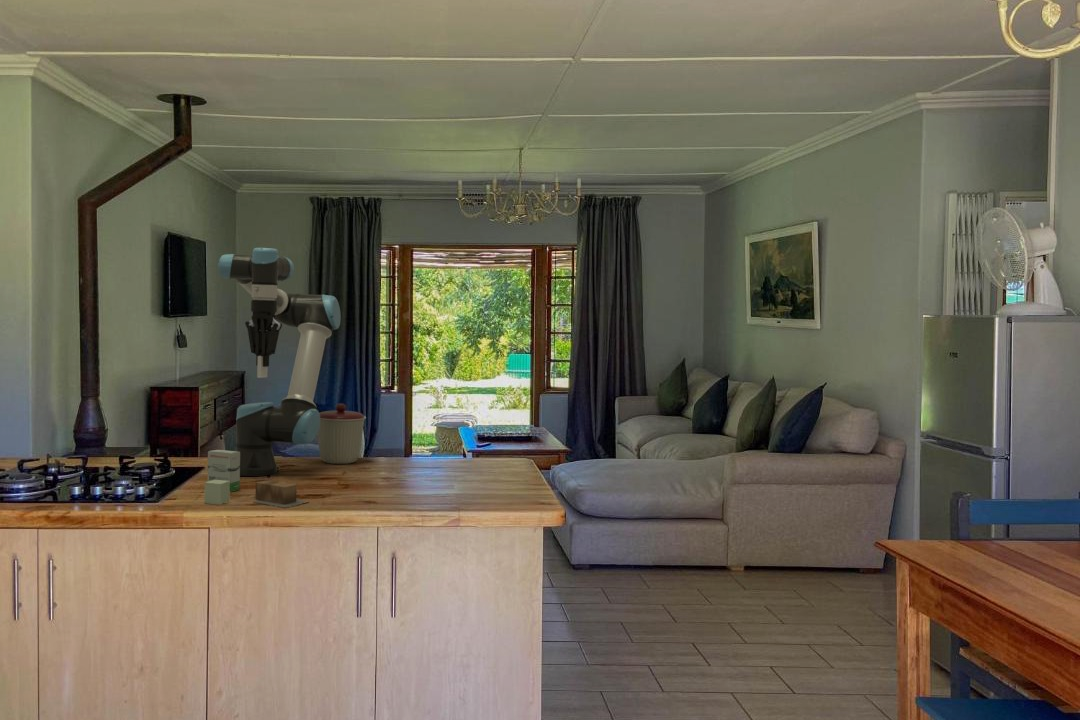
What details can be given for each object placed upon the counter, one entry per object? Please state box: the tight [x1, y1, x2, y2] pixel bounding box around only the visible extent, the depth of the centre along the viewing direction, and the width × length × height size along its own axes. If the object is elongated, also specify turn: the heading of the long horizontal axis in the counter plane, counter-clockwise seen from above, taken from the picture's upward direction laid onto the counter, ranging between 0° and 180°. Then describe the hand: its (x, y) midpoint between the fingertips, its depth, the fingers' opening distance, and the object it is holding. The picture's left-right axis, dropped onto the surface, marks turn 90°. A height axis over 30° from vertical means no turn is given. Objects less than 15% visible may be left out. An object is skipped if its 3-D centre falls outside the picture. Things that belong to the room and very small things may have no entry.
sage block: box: [203, 480, 231, 506], centre depth 293 cm, size 5×5×6 cm
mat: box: [252, 499, 307, 509], centre depth 296 cm, size 12×10×1 cm
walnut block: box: [254, 479, 298, 505], centre depth 297 cm, size 5×5×11 cm
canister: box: [317, 403, 367, 465], centre depth 368 cm, size 18×18×21 cm
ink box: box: [206, 449, 241, 493], centre depth 311 cm, size 9×5×12 cm, turn 71°
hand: (262, 377), depth 311 cm, fingers closed
